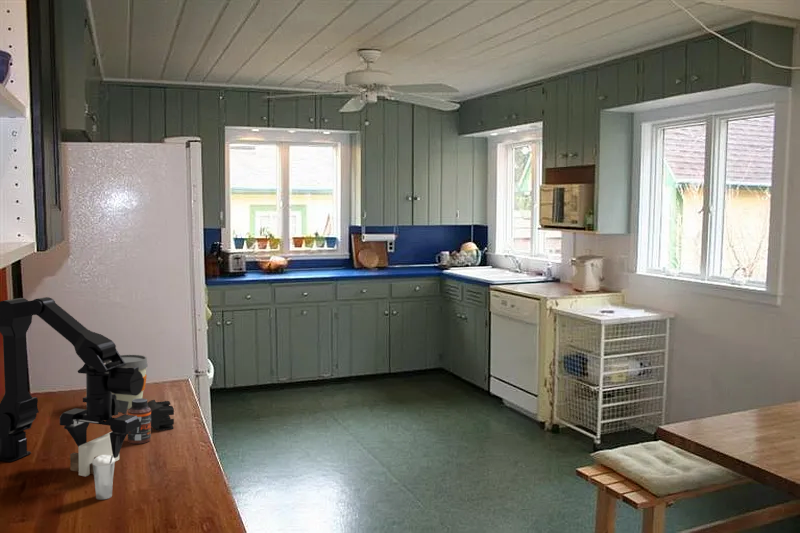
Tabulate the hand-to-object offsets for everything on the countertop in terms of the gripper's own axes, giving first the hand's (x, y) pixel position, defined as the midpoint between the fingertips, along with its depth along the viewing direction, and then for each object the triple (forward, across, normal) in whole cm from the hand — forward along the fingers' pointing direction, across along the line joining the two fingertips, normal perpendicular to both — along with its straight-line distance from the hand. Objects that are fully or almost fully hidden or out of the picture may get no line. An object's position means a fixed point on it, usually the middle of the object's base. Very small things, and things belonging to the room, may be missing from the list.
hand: (99, 455), depth 171 cm
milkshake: (+3, -13, +14) cm, 20 cm away
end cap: (+3, +6, -32) cm, 33 cm away
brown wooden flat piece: (+3, 0, +4) cm, 5 cm away
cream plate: (+3, 0, 0) cm, 3 cm away
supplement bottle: (+3, +3, -20) cm, 20 cm away
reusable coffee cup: (+3, +28, -48) cm, 55 cm away
